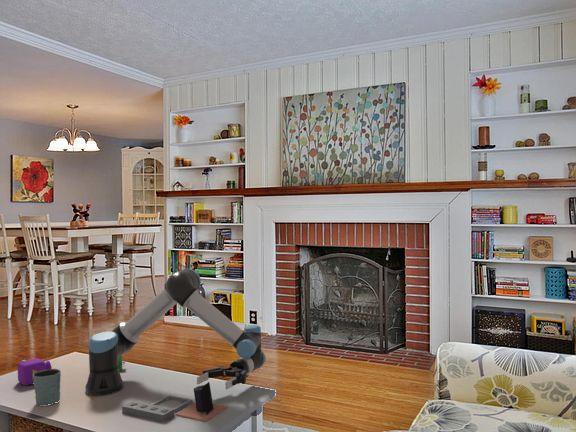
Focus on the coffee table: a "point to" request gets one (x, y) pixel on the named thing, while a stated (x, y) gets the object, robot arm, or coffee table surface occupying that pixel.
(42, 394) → the grey-green cup
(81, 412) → the coffee table surface
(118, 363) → the geometric puzzle
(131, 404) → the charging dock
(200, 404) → the speaker
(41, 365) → the toy camera
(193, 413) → the mat
